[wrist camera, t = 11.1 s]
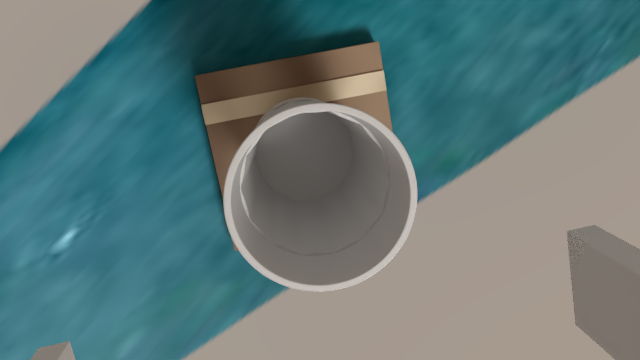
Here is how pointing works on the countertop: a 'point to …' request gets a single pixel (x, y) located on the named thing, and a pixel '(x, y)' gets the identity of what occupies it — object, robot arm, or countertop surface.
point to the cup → (319, 195)
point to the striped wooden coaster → (288, 93)
